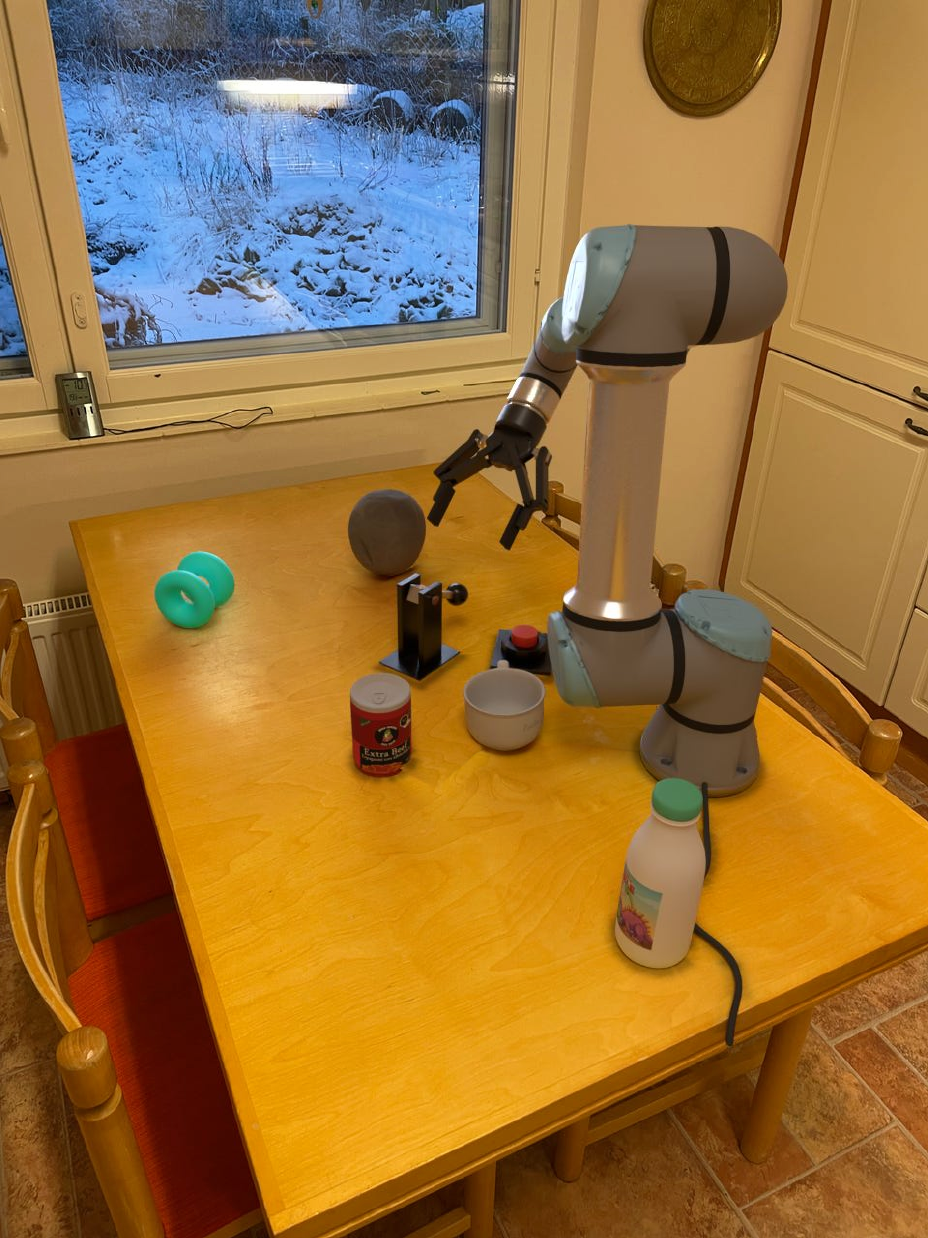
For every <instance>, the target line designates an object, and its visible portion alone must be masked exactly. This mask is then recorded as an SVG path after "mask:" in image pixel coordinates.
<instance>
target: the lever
mask: <svg viewBox="0 0 928 1238" xmlns="http://www.w3.org/2000/svg"><path fill="white" fill-rule="evenodd" d="M426 587H428V586H427V585H424V584H422V583H421V584H410V588H409V592H408V595H407V600H408V601H411V602H413V603H416V604H418V592H420V591H421V590H423V589H425V588H426ZM442 599H445V600H446V602H447V603H448V604H450V605H452V606H454V607H460V606H463V605H464V604H465V603H466V602H467V601H468V599H469V590H468V588H467V587H466V586H465V584H463V583H460V582H453V583H451V584H449V585H448V586H447V588H446V589H444V590H443V589H442Z"/></svg>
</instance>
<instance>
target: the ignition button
mask: <svg viewBox="0 0 928 1238" xmlns="http://www.w3.org/2000/svg"><path fill="white" fill-rule="evenodd" d="M511 630H512V636H511V642H512V644H513V645H515V646H518V647H524V648H529V647H534V646H536V644H537V640H538V631H539V630H538V629H537V628H536V627H534V626H532V625H529V624H519V625H516V626H514V627H513V628H512V629H511Z"/></svg>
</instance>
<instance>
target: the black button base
mask: <svg viewBox="0 0 928 1238" xmlns="http://www.w3.org/2000/svg"><path fill="white" fill-rule="evenodd" d="M511 636H512V629H504V628H499V629H498V631H497V634H496V640H495V644H494V648H493V653H492V657H491V661H490V667H489V668H490V669H495V668H497V663H498V661H500V660H506V661H508V663H509V668H513V669H520V670H524V671H527V672H529V673H531V674H533V675H538V676H547V677H548V676H549V677H551V674H552V665H551V660H550V653H549V646H548V635H547V632H541V631H539V630H538V640H537V644H536V646H534V647H529V648H524V647H518V646H515V645H513V644H512V642H511ZM490 669H489V670H490Z"/></svg>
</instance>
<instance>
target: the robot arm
mask: <svg viewBox="0 0 928 1238" xmlns="http://www.w3.org/2000/svg"><path fill="white" fill-rule="evenodd" d="M568 268H569V269H568V272H567V275H566V276H567V277H566V280H565V285H564V291H563V296H561V297H559V298H558V299H556V300H555V301H554V302H552V304H551V305H550V306H549V307H548V309H547V311H546V312H545V314H544V316H543V317H542V319H541V322H540V324H539V329H538V333H537V336H536V338H535V340H534V342H533V345H532V347H531V350H530V352H529V355H528V357H527V359H526V361H525V363H524V365H523V367H522V369H521V371H520V373H519V375H518V377H517V379H516V380H515V382H514V384H513V387H512V389H511V390H510V392H509V395H508V396H507V398H506V400H505V405H503V407H502V409H501V410H500V413H499V414H498V416H497V419H496V421H495V424H494V427H493V431H492V432H491V433H490V434H489V435H486V434H484V433H482V432H481V431H480V430H479V429H478V428H475V429H473V431H472V432H471V433H470V435H469V437H468V438H467V440H466V441H464V443H462V444H461V445H460V446H459V447H458V448H457V449H456V450H455V451H453V452H452V453H451V454H450V456H448V457H447V458H446V459H445V460H444V461H442V463H441V464H439V465H438V466H437V467H436V468H435V469H434V470H433V475H434V476H435V477H436V478H437V479H438V481H440V482H439V485H438V487H437V489H436V491H435V492H434V494H433V497H432V500H433V501H434V503H433V505H432V506H431V509H430V511H429V512H428V515H427V517H426V519H427V520H428V522H429V523H430V524H432V525H433V526H434V527H437V528H438V527H439V526H440V524H441V522H442V520H443V518H444V517H445V514H446V512H447V509H448V508H449V505H450V504H451V503H452V500H453V498H454V496H455V494H456V489H455V488H454V487H456V486H458V485H460V484H462V483H463V482H464V481H466V480H468V479H470V478H471V477H473V476H475V475H476V474H477V473H480V472H481V471H482V470H484V469H489V468H491V467H495V468H497V469H505V470H506V471H508V472H510V473H511V472H513V471H514V473H515V477H516V480H517V483H518V484H517V485H518V487H519V488H518V489H519V492H520V495H521V499H522V501H521V502H522V504H521V503H517V504H516V506H515V508H514V510H513V512H512V514H511V517H510V518H509V520H508V523H507V525H506V527H505V529H504V531H503V533H502V535H501V537H500V539H499V541H498V543H499V544H500V545H501V546H502V547H503V548H504V550H507V551H511V549H512V548H513V545H514V543H515V541H516V539H517V537H518V534H520V531H525V530H526V528H527V527H528V525H529V523H530V521H531V518H532V516H533V514H534V513H536V512H543V513H546V512H548V511H549V507H550V506H549V505H550V501H549V500H550V494H549V492H550V491H549V490H550V489H549V488H550V487H549V486H550V485H549V484H550V483H549V482H550V481H549V479H550V478H549V467H550V464H551V462H552V458H553V455H552V453H551V451H550V450H549V448H548V447H547V446H546V445H543V446H541V447H540V448H538V446H539V445H540V443H541V441H542V438H543V436H544V434H545V433H546V431H547V428H548V426H547V425H548V424H549V423H550V421H551V420H552V418H553V416H554V413H555V411H556V409H557V408H558V406H559V403H560V401H561V399H562V397H563V395H564V392H565V391H566V389H567V387H568V385H569V383H570V381H571V380H572V377H573V375H574V373H575V371H576V369H577V367H578V366H579V368H580V369H581V370H582V371H583V372H584V374H585V375H586V377H587V378H588V389H587V405H586V406H587V408H586V421H585V423H586V424H585V437H584V438H585V440H584V441H585V442H584V454H583V455H584V457H583V472H582V489H581V491H582V492H581V506H580V507H581V508H580V524H579V542H578V544H579V545H578V555H577V557H578V558H577V559H578V560H577V572H576V573H577V574H576V575H577V576H576V583H575V585H573V586H572V587H571V588H570V589H568V590H567V591H566V592H565V593H564V595H563V596H562V597H563V598H562V609H561V610H562V611H560V610H555V611H554V612H551V613H549V614H548V616H547V623H546V633H547V635H548V646H549V653H550V660H551V665H552V666H551V672H552V675H553V680H554V684H555V686H556V690H557V692H558V695H559V697H560V698H561V700H562V701H563V703H565V704H566V705H568V706H570V707H574V708H575V707H576V708H577V707H578V708H596V709H601V708H607V707H608V708H609V707H632V706H637V707H638V706H656V705H658V706H657V708H656V709H655V711H654V713H653V715H652V716H651V717H650V720H649V721H648V723H647V725H646V726H645V727H644V729H643V732H642V734H641V739H640V744H639V758H640V761H641V763H642V765H643V766H644V768H645V769H646V770H647V771H648V772H649V774H650V775H651V776H652V777H654V779H656V780H658V782H659V781H661V780H663V779H668V778H678V779H683V780H686V781H689V782H691V783H692V784H694V785H695V786H696V787H698V789H699V790H700V791H701V793H702V797H703V803H702V820H703V821H702V825H703V826H702V827H703V841H704V842H703V843H704V851H705V858H706V865H705V875H704V879H706V877H707V875H708V874H709V870H710V867H711V862H712V843H711V832H710V807H709V806H710V805H709V798H721V797H727V796H728V797H729V796H733V795H735V794H738V793H741V792H743V791H745V790H746V789H748V788H749V787H750V786H752V784H753V783H754V782H755V780H756V778H757V776H758V771H759V767H760V764H761V763H760V760H761V759H760V749H759V748H760V747H759V743H758V734H757V729H756V726H755V725H756V724H755V717H756V712H757V709H758V704H759V699H760V696H761V691H762V687H763V683H764V679H765V673H766V671H767V670H766V669H767V665H768V661H769V660H770V659H771V652H772V651H771V646H772V639H773V626H772V624H771V620H770V619H769V618H768V616H767V615H766V613H764V612H763V611H762V610H761V609H760V608H759V607H757V606H756V605H755V604H753V603H751V602H750V601H748V600H746V599H743V598H742V597H739V596H737V595H734V594H732V593H729V592H724V591H721V590H715V589H706V588H705V589H702V588H698V589H691V590H688V591H686V592H684V593H681V595H680V596H679V597H678V598H677V600H676V601H675V603H674V608H670V609H669V608H668V609H667V608H666V609H662V608H663V603H662V600H661V598H660V597H659V596H658V594H656V593H655V592H654V591H653V590H652V588H651V585H652V583H651V582H652V574H653V573H652V572H653V562H654V552H655V551H654V550H655V541H656V530H657V521H658V520H657V519H658V510H659V509H658V508H659V498H660V487H661V486H660V485H661V477H662V465H663V456H664V455H663V454H664V443H665V435H666V423H667V414H668V413H667V412H668V401H669V389H670V382H671V381H672V379H673V378H675V376H676V375H678V374H679V372H681V370H682V369H683V368H684V367H686V365H687V356H688V354H689V352H690V351H691V349H692V348H695V347H698V346H714V345H725V344H735V343H740V342H744V341H748V340H751V339H753V338H756V337H757V336H760V335H761V334H763V333H765V332H766V331H767V330H769V328H770V327H772V325H774V324H775V322H776V321H777V319H778V318H779V317H780V315H781V313H782V311H783V309H784V306H785V304H786V300H787V297H788V289H789V288H788V287H789V285H788V274H787V271H786V268H785V265H784V263H783V260H782V258H781V257H780V256H779V254H778V253H777V251H776V250H775V249H774V247H772V246H771V245H770V244H769V243H768V242H767V241H766V240H764V239H763V238H761V237H760V236H758V235H756V234H755V233H752V232H749V231H747V230H746V229H745V230H744V229H741V228H736V227H732V226H683V225H682V226H681V225H679V226H677V225H676V226H675V225H671V226H670V225H643V224H631V223H627V224H623V225H621V224H620V225H611V226H609V225H608V226H598V227H595V228H591V229H590V230H588V231H587V232H586V233H585V234H584V235H583V236H582V237H581V239H580V240H579V242H578V244H577V245H576V248H575V250H574V253H573V255H572V258H571V261H570V265H569V267H568ZM486 457H487V458H486ZM532 459H533V460H534V461H535V497H534V493H533V489H532V486H531V482H530V478H529V472H528V468H527V465H526V463H528V462H529V461H531V460H532ZM693 932H695V933H696V934H697V935H698V936H699V937H701V938H702V939H703V940H705V942H707V943H709V945H710V946H712V947H714V948H715V949H716V950H717V951H718V952H719V953H720V954H721V955H722V956H723V957H724V958H725V960H726V962H727V963H728V964H729V966H730V968H731V971H732V974H733V977H734V991H733V992H734V993H733V997H732V1001H731V1005H730V1009H729V1013H728V1017H727V1023H726V1029H725V1030H726V1032H725V1039H724V1041H725V1045H726V1046H727V1047H730V1048H731V1047H733V1045H734V1040H735V1031H736V1024H737V1018H738V1013H739V1008H740V1004H741V1002H742V996H743V989H744V987H743V977H742V972H741V969H740V967H739V964H738V963H737V960H736V959H735V957H734V956H733V954H732V953H731V952H730V951H729V950H728V948H727V947H725V946H724V945H723V944H722V943H721V942H720V941H719V940H717V938H715V937H714V936H712V935H711V934H709V933H708V932H707V931H705V930H704V928H702V927H701V926H699V924H698V923H697V922H695V926H694V930H693Z"/></svg>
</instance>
